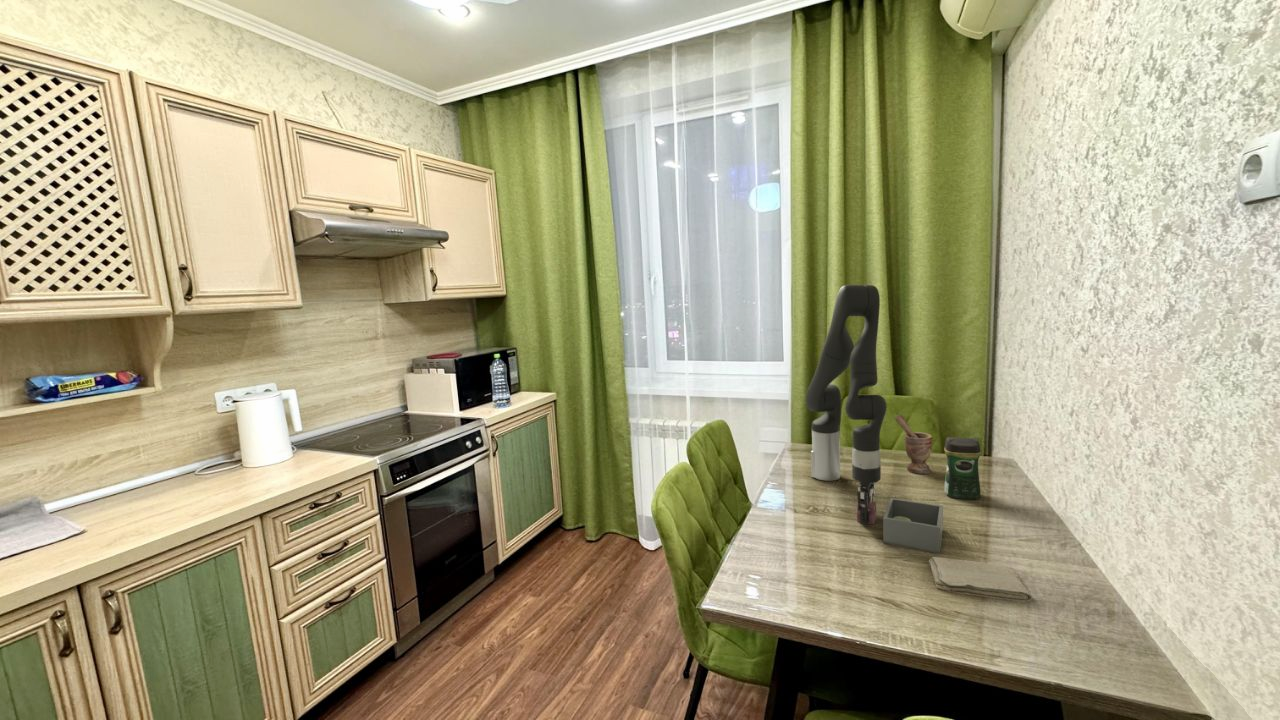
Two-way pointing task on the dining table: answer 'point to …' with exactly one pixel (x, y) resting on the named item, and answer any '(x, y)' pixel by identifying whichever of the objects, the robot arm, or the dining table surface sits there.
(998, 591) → the washcloth
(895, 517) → the green cylinder
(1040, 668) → the dining table surface
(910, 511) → the bin
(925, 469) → the mortar and pestle
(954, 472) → the coffee jar
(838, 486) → the dining table surface
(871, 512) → the pink cube
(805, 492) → the dining table surface
